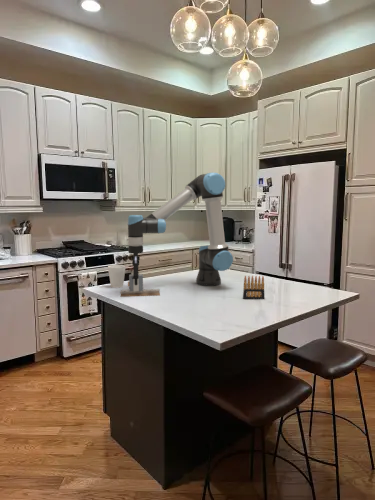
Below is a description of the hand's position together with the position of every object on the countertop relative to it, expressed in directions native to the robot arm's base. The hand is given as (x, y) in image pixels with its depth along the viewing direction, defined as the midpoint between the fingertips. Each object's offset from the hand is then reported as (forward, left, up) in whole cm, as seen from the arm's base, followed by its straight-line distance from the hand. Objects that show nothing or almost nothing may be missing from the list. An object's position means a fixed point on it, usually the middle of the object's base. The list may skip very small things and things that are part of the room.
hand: (136, 289), depth 185 cm
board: (-2, 0, -3) cm, 4 cm away
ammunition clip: (-59, +13, -4) cm, 61 cm away
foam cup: (+11, -17, -4) cm, 20 cm away
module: (0, 0, 0) cm, 0 cm away
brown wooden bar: (-2, 0, -2) cm, 3 cm away
